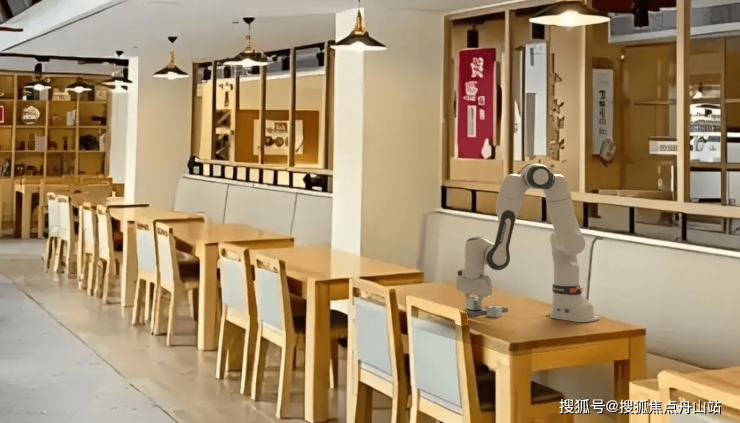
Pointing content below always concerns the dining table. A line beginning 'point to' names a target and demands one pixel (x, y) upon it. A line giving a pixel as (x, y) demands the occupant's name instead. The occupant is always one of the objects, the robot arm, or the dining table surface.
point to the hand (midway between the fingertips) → (473, 304)
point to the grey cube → (472, 303)
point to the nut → (494, 311)
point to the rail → (481, 311)
